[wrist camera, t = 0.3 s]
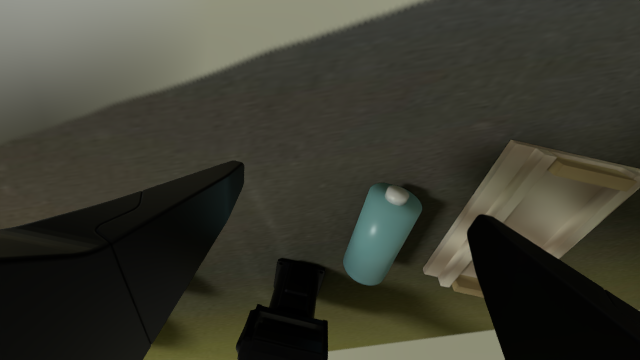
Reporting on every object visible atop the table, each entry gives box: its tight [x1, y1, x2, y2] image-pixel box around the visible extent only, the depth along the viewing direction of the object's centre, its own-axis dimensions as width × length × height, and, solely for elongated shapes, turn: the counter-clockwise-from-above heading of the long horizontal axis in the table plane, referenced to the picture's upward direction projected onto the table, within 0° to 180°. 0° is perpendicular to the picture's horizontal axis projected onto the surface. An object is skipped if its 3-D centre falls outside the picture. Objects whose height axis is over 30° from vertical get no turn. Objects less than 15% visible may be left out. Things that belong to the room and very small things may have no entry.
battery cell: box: [343, 183, 422, 285], centre depth 25 cm, size 11×5×5 cm, turn 169°
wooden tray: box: [423, 140, 640, 298], centre depth 25 cm, size 18×12×3 cm, turn 169°
